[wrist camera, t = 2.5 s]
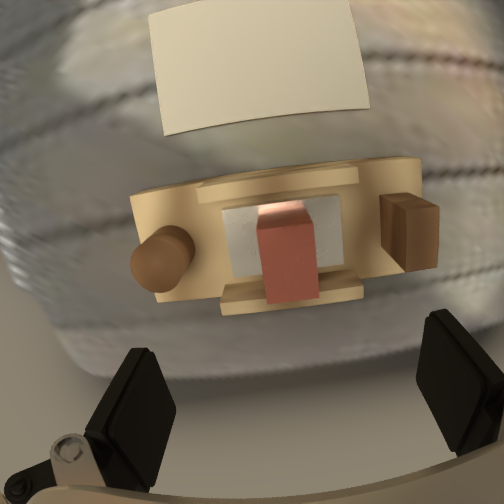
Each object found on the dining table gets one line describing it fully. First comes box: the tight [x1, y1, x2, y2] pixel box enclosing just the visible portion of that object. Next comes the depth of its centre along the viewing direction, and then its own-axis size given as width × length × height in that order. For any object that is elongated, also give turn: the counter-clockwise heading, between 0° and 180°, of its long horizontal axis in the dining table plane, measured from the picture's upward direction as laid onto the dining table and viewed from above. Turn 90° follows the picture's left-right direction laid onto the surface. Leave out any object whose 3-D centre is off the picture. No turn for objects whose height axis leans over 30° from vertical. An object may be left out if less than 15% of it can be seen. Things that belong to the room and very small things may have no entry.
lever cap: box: [221, 192, 344, 304], centre depth 20 cm, size 8×5×6 cm, turn 99°
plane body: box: [130, 156, 439, 316], centre depth 22 cm, size 22×9×8 cm, turn 99°
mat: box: [148, 0, 370, 136], centre depth 20 cm, size 16×11×1 cm
